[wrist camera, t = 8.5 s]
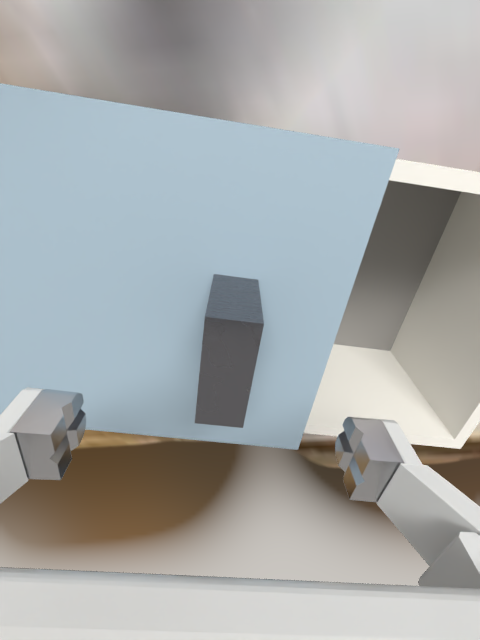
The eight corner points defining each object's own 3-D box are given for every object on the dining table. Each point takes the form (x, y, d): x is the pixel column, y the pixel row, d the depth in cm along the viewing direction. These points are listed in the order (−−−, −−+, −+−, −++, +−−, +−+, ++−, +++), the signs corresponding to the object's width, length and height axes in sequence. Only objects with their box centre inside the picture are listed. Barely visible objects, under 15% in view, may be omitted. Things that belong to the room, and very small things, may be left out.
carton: (207, 332, 30) (192, 421, 20) (228, 136, 22) (218, 130, 12) (391, 353, 31) (460, 448, 21) (472, 176, 23) (638, 197, 13)
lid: (-5, 409, 19) (-75, 484, 15) (-117, 65, 11) (-335, 17, 7) (295, 439, 20) (310, 515, 16) (390, 148, 12) (468, 149, 8)
